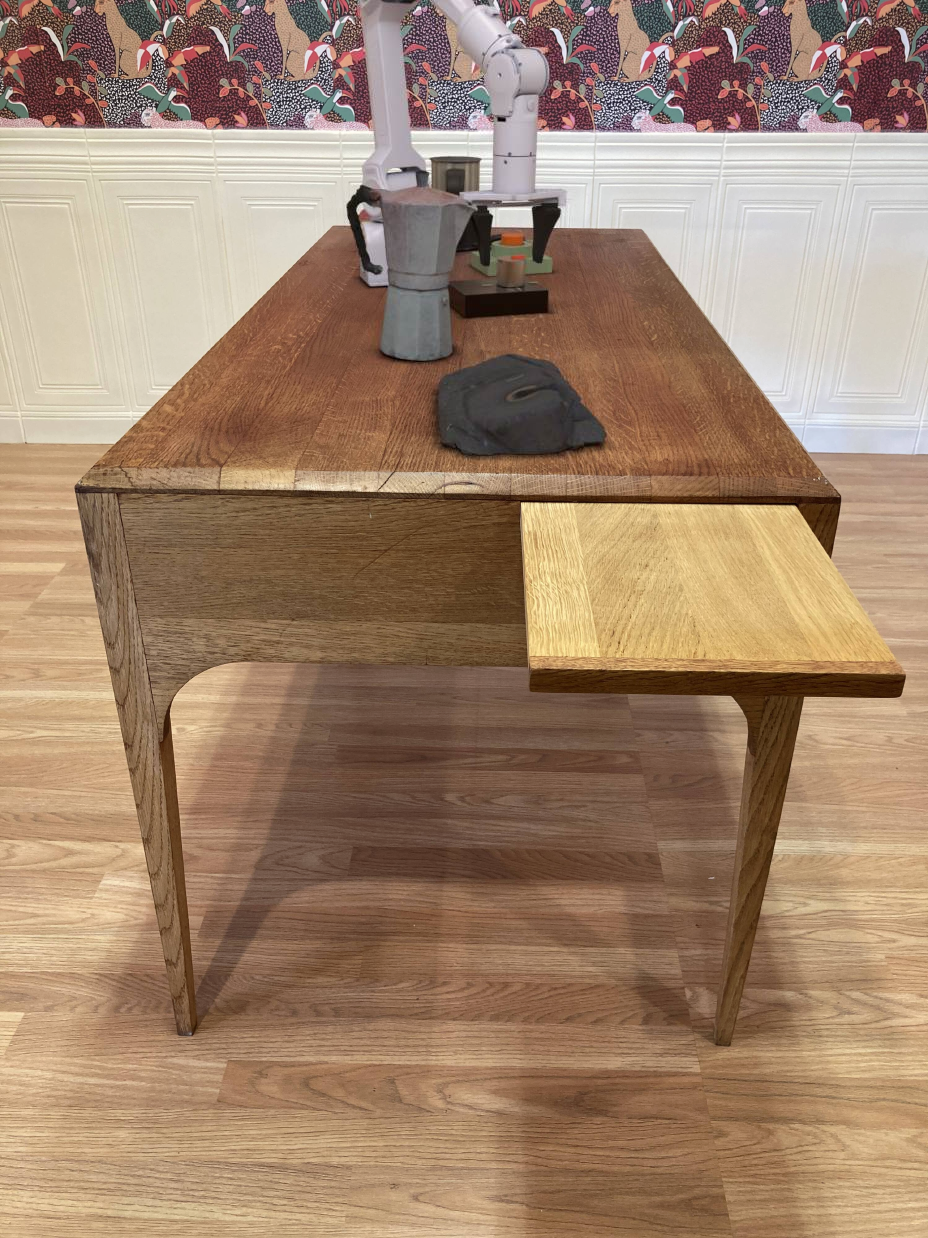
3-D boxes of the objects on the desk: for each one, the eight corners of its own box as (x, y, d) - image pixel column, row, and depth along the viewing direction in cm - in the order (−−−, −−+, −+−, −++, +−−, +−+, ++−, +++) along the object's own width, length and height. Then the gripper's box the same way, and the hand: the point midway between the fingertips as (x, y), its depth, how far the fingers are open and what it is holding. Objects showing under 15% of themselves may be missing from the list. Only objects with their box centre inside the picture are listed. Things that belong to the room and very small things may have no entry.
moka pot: (467, 367, 110) (470, 176, 100) (339, 358, 113) (328, 171, 103) (483, 345, 118) (486, 166, 108) (362, 337, 121) (354, 162, 111)
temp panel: (465, 317, 130) (465, 293, 129) (446, 302, 138) (446, 279, 136) (548, 312, 133) (549, 288, 132) (526, 297, 141) (526, 275, 139)
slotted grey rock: (571, 381, 106) (574, 337, 104) (611, 454, 87) (615, 403, 85) (432, 383, 105) (432, 339, 103) (442, 457, 86) (442, 405, 84)
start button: (505, 248, 155) (505, 236, 154) (497, 244, 158) (498, 233, 157) (526, 247, 156) (526, 235, 155) (518, 243, 159) (519, 232, 158)
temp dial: (501, 287, 132) (502, 258, 130) (492, 282, 136) (493, 253, 134) (528, 286, 133) (530, 257, 131) (519, 280, 137) (520, 252, 135)
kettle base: (488, 276, 154) (488, 249, 152) (471, 265, 161) (471, 240, 159) (552, 272, 156) (553, 246, 154) (532, 262, 164) (533, 237, 162)
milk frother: (424, 243, 178) (423, 155, 170) (504, 239, 182) (506, 153, 175) (445, 257, 166) (445, 163, 159) (531, 253, 171) (534, 161, 163)
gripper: (470, 158, 121) (469, 271, 128) (577, 156, 125) (571, 265, 132) (455, 153, 127) (454, 261, 134) (557, 151, 130) (552, 256, 137)
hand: (511, 263), depth 133 cm, fingers open, 7 cm apart
